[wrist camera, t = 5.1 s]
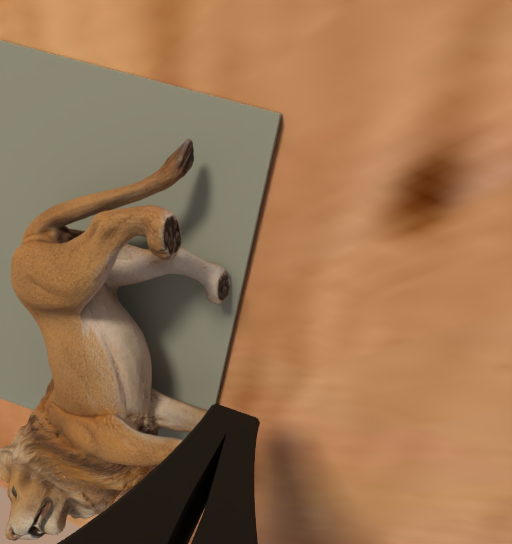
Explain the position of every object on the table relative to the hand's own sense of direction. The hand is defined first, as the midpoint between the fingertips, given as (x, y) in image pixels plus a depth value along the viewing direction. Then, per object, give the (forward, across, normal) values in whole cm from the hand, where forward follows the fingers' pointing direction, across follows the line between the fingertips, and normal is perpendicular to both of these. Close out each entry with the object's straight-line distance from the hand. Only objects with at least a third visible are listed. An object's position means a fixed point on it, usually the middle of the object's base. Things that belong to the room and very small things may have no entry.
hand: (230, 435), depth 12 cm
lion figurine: (+1, +1, 0) cm, 2 cm away
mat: (+5, +7, 0) cm, 9 cm away
